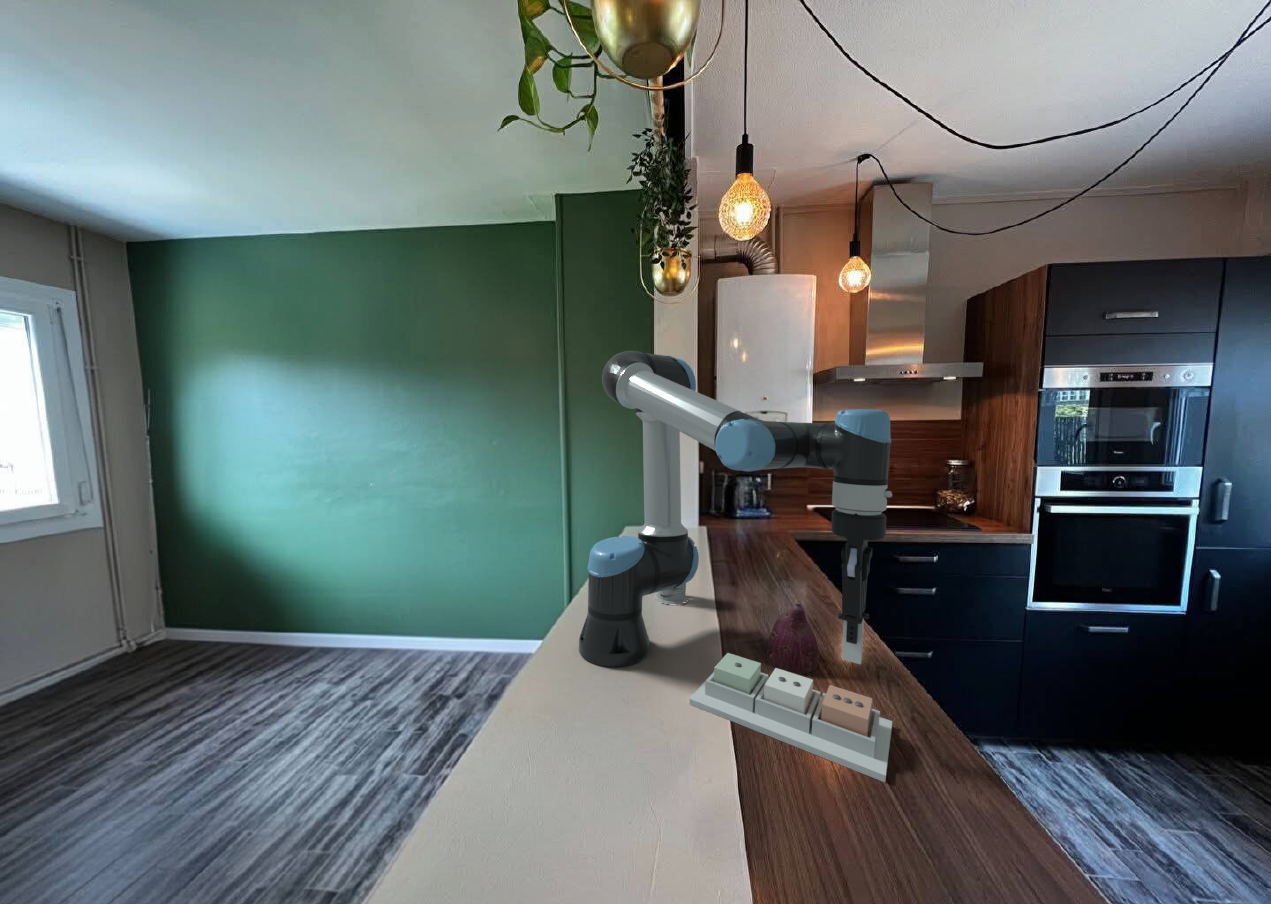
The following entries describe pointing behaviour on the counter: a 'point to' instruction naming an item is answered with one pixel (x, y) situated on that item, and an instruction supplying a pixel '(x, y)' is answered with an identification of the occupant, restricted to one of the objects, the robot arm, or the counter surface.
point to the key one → (737, 673)
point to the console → (801, 726)
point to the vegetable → (793, 643)
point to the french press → (672, 595)
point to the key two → (789, 690)
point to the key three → (847, 710)
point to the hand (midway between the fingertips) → (851, 659)
